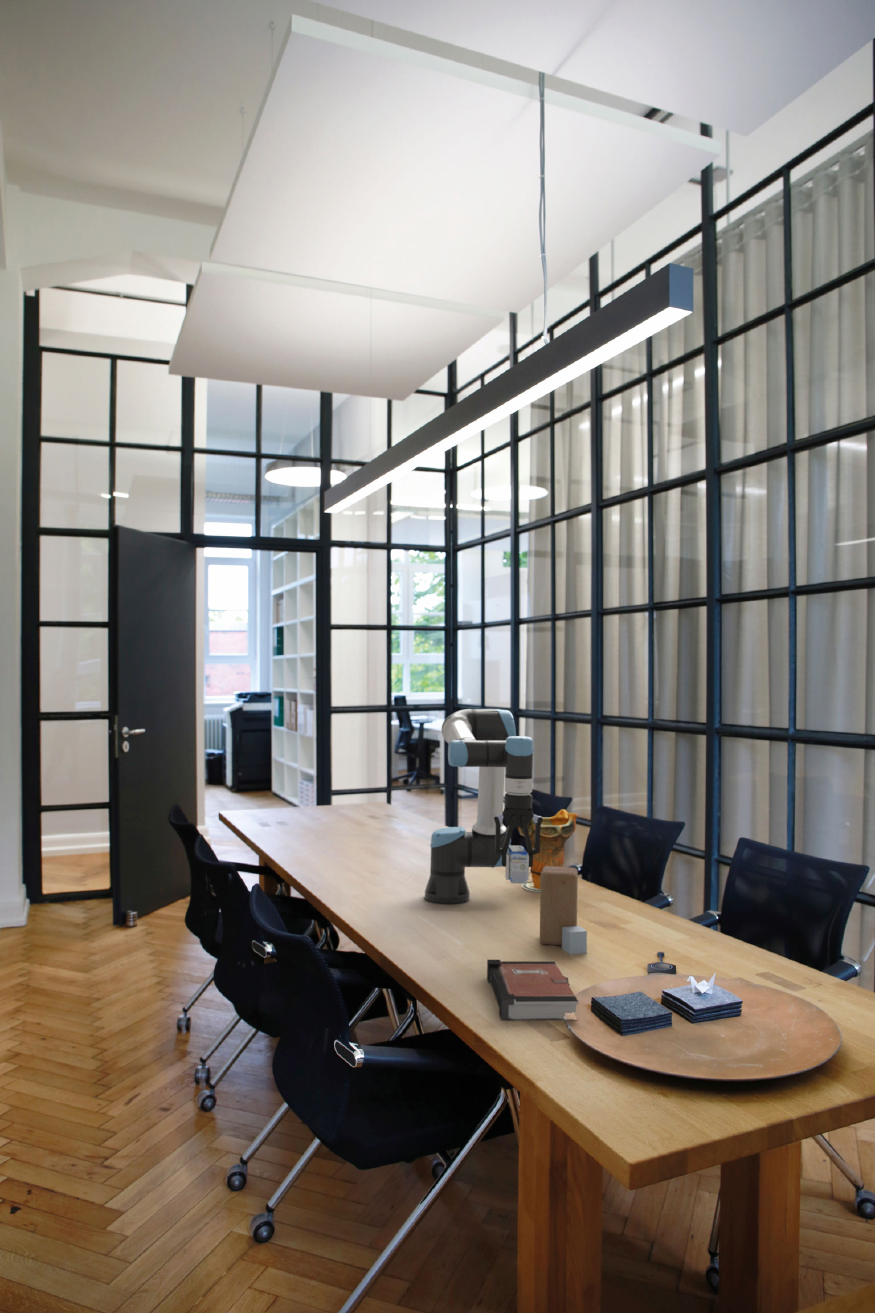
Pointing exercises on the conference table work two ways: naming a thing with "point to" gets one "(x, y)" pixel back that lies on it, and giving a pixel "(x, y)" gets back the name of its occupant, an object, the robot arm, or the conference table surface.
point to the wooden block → (557, 902)
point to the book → (530, 990)
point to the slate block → (574, 940)
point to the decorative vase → (549, 844)
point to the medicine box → (517, 864)
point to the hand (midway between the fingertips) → (516, 878)
